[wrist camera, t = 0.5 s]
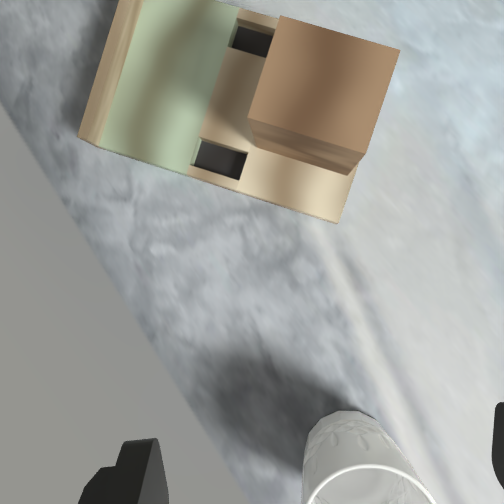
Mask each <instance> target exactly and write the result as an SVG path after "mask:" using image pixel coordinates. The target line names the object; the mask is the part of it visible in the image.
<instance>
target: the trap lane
mask: <svg viewBox="0 0 504 504" xmlns="http://www.w3.org/2000/svg"><path fill="white" fill-rule="evenodd" d="M278 21H279V19H277V18H273V17H270V16H266V15H263V14H259V13H256V12H252V11H249V10H246V9H242V8H239V7H235V6H232V5H228V4H225V3H221V2H218V1H215V0H119V2H118V5H117V9H116V12H115V15H114V18H113V22H112V25H111V28H110V31H109V35H108V38H107V41H106V44H105V48H104V51H103V54H102V57H101V60H100V64H99V67H98V70H97V73H96V77H95V80H94V83H93V86H92V90H91V93H90V96H89V99H88V103H87V106H86V109H85V112H84V116H83V119H82V122H81V125H80V128H79V132H78V135H77V137H78V138H80V139H82V140H84V141H86V142H88V143H90V144H92V145H94V146H96V147H98V148H101V149H104V150H107V151H110V152H114V153H117V154H120V155H123V156H126V157H129V158H132V159H135V160H138V161H141V162H145V163H148V164H151V165H154V166H157V167H160V168H163V169H166V170H169V171H173V172H176V173H179V174H182V175H185V176H188V177H191V178H194V179H197V180H200V181H204V182H207V183H210V184H213V185H216V186H219V187H222V188H225V189H228V190H232V191H235V192H238V193H241V194H244V195H247V196H250V197H253V198H256V199H259V200H263V201H266V202H269V203H272V204H275V205H278V206H281V207H284V208H287V209H290V210H294V211H297V212H300V213H303V214H306V215H309V216H312V217H315V218H318V219H322V220H325V221H328V222H331V223H334V224H338V223H339V220H340V217H341V214H342V211H343V208H344V205H345V202H346V199H347V196H348V193H349V190H350V187H351V184H352V182H353V179H354V176H355V173H356V170H357V167H358V164H359V162H358V164H357V165H356V166H355V167H354V168H353V170H352V171H351V172H350V173H349V174H348V176H346V175H343V174H339V173H336V172H333V171H330V170H327V169H323V168H320V167H317V166H314V165H311V164H308V163H304V162H301V161H298V160H295V159H292V158H288V157H285V156H282V155H279V154H276V153H272V152H269V151H266V150H263V149H260V148H257V146H256V143H255V140H254V137H253V134H252V131H251V128H250V124H249V121H248V118H247V116H248V113H249V110H250V107H251V104H252V101H253V98H254V95H255V92H256V89H257V86H258V82H259V79H260V76H261V73H262V70H263V67H264V64H265V61H266V58H267V55H268V52H269V49H270V45H271V42H272V39H273V36H274V33H275V30H276V27H277V24H278Z"/></svg>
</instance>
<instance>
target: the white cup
mask: <svg viewBox="0 0 504 504" xmlns="http://www.w3.org/2000/svg"><path fill="white" fill-rule="evenodd" d="M301 504H436V503H435V501H434V499H433V498H432V496H431V495H430V493H429V492H428V490H427V489H426V487H425V486H424V484H423V483H422V481H421V480H420V478H419V477H418V475H417V473H416V472H415V470H414V469H413V467H412V466H411V464H410V463H409V461H408V460H407V459H406V457H405V456H404V455H403V453H402V452H401V450H400V449H399V448H398V446H397V445H396V443H395V442H394V441H393V440H392V439H391V438H390V436H389V435H388V434H387V433H386V431H385V430H384V429H383V428H382V426H381V425H380V424H379V423H378V421H377V420H375V419H373V418H371V417H369V416H367V415H365V414H363V413H361V412H359V411H337V412H334V413H332V414H330V415H328V416H325V417H323V418H321V419H320V420H319V421H318V423H317V424H316V425H315V426H314V427H313V429H312V430H311V431H310V432H309V434H308V438H307V443H306V447H305V451H304V462H303V473H302V490H301Z"/></svg>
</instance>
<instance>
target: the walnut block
mask: <svg viewBox="0 0 504 504" xmlns="http://www.w3.org/2000/svg"><path fill="white" fill-rule="evenodd" d="M399 53H400V50H398V49H395V48H391V47H388V46H384V45H381V44H377V43H374V42H371V41H367V40H364V39H360V38H357V37H353V36H350V35H346V34H343V33H340V32H336V31H333V30H329V29H326V28H322V27H319V26H315V25H312V24H308V23H305V22H302V21H298V20H295V19H291V18H288V17H284V16H281V15H280V18H279V21H278V24H277V27H276V30H275V33H274V36H273V39H272V42H271V45H270V49H269V52H268V55H267V58H266V61H265V64H264V67H263V70H262V73H261V76H260V79H259V82H258V86H257V89H256V92H255V95H254V98H253V101H252V104H251V107H250V110H249V113H248V116H247V118H248V121H249V124H250V128H251V131H252V134H253V137H254V140H255V143H256V146H257V148H260V149H263V150H266V151H269V152H272V153H276V154H279V155H282V156H285V157H288V158H292V159H295V160H298V161H301V162H304V163H308V164H311V165H314V166H317V167H320V168H323V169H327V170H330V171H333V172H336V173H339V174H343V175H346V176H348V174H349V173H350V172H351V171H352V170H353V168H354V167H355V166H356V165H357V164H358V162H359V161H360V160H361V159H362V158H363V156H364V155H365V154H366V151H367V148H368V145H369V142H370V139H371V136H372V134H373V131H374V128H375V125H376V122H377V119H378V116H379V113H380V110H381V107H382V104H383V101H384V98H385V95H386V92H387V89H388V86H389V83H390V80H391V77H392V74H393V71H394V68H395V65H396V62H397V59H398V56H399Z"/></svg>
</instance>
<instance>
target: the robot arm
mask: <svg viewBox="0 0 504 504" xmlns="http://www.w3.org/2000/svg"><path fill="white" fill-rule="evenodd" d="M492 464H493V468H494V471H495V474H496V477H497V479H498V481H499V483H500V484H501V486H502V487H503V489H504V402H500V403H498V404H497V405H496V408H495V416H494V430H493V443H492ZM78 504H169V494H168V487H167V482H166V477H165V471H164V466H163V461H162V456H161V450H160V446H159V442H158V439H157V438H152V439H142V440H134V441H125V442H124V443H123V445H122V447H121V450H120V453H119V456H118V459H117V462H116V466H113V467H104V468H100V470H99V471H98V472H97V473H96V474H95V475H94V477H93V478H92V479H91V480H90V481H89V482H88V484H87V485H86V486H85V487H84V490H83V492H82V495H81V497H80V500H79V502H78Z"/></svg>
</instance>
